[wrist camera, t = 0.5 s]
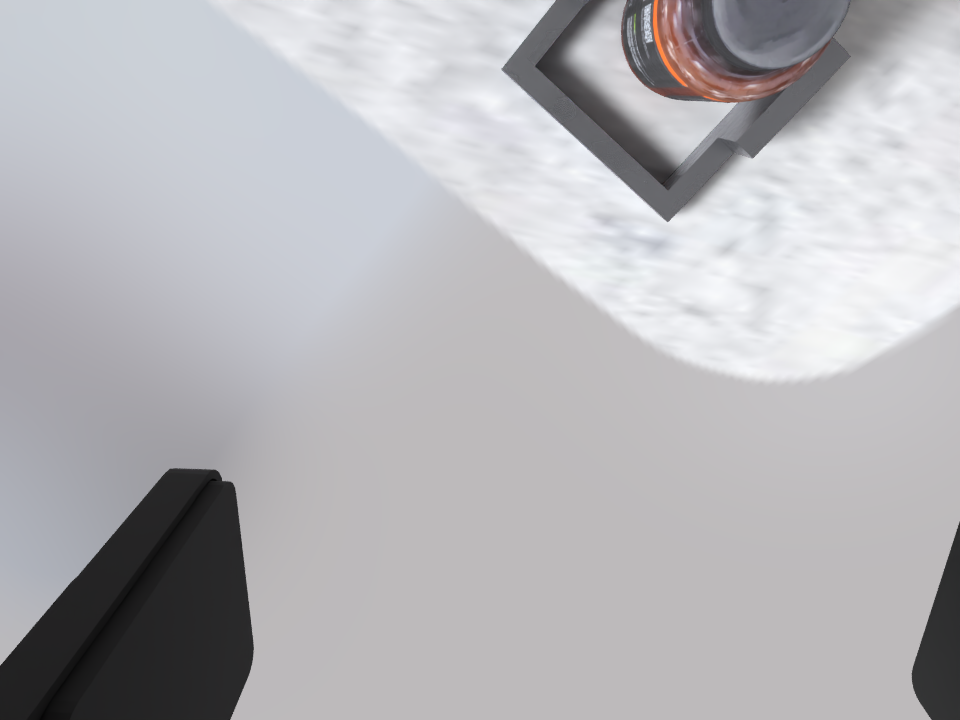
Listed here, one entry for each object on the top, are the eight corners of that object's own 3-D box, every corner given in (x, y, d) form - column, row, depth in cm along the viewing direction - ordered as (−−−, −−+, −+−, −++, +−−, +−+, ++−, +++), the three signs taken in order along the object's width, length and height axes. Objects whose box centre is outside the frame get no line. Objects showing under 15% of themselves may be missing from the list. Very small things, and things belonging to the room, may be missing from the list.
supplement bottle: (782, 39, 31) (929, 18, 20) (665, 127, 32) (746, 149, 22) (710, -86, 29) (830, -181, 19) (590, 12, 31) (639, -24, 20)
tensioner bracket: (645, -113, 29) (668, -142, 25) (808, 59, 31) (850, 56, 27) (501, 69, 32) (502, 68, 28) (660, 216, 34) (681, 233, 30)
